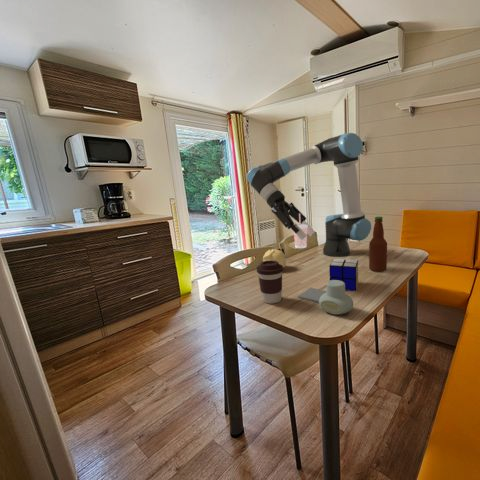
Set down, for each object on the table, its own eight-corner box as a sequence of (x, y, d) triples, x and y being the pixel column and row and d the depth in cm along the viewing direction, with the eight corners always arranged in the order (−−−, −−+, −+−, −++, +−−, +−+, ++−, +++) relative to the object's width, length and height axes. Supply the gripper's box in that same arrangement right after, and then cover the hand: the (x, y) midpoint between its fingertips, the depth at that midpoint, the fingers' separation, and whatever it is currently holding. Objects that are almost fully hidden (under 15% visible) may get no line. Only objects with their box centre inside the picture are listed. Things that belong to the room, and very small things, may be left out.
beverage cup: (290, 247, 109) (288, 214, 106) (299, 244, 113) (298, 212, 110) (302, 249, 104) (301, 214, 101) (311, 246, 108) (310, 212, 105)
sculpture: (266, 265, 145) (265, 246, 143) (288, 265, 141) (287, 246, 139) (261, 272, 134) (259, 252, 132) (284, 273, 130) (283, 252, 128)
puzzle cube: (329, 288, 107) (329, 265, 105) (333, 280, 116) (333, 258, 114) (356, 291, 103) (356, 267, 101) (358, 282, 111) (358, 259, 109)
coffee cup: (271, 308, 95) (268, 268, 92) (253, 300, 103) (250, 263, 100) (290, 299, 100) (288, 262, 97) (272, 292, 108) (270, 257, 105)
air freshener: (315, 311, 90) (314, 283, 88) (325, 302, 96) (325, 276, 94) (347, 320, 83) (347, 290, 81) (356, 309, 89) (356, 281, 87)
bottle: (385, 267, 125) (387, 215, 120) (387, 272, 119) (388, 217, 113) (368, 266, 128) (369, 216, 123) (369, 271, 122) (369, 218, 117)
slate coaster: (310, 288, 109) (310, 287, 108) (334, 294, 102) (334, 292, 102) (297, 297, 102) (297, 296, 101) (322, 303, 95) (322, 302, 95)
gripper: (280, 200, 122) (314, 237, 114) (254, 205, 108) (290, 247, 101) (289, 188, 117) (325, 225, 109) (263, 191, 104) (301, 234, 96)
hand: (308, 235), depth 105 cm, fingers closed on beverage cup, 6 cm apart
